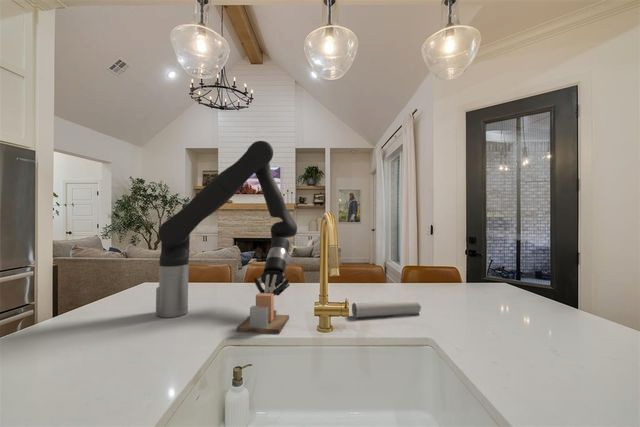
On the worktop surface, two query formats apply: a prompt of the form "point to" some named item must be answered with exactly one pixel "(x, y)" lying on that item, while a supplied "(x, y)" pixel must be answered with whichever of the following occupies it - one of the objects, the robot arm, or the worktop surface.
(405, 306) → the tube
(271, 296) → the orange tall block
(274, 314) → the cable comb
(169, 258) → the robot arm
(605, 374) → the worktop surface
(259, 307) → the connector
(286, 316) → the brown wooden board
